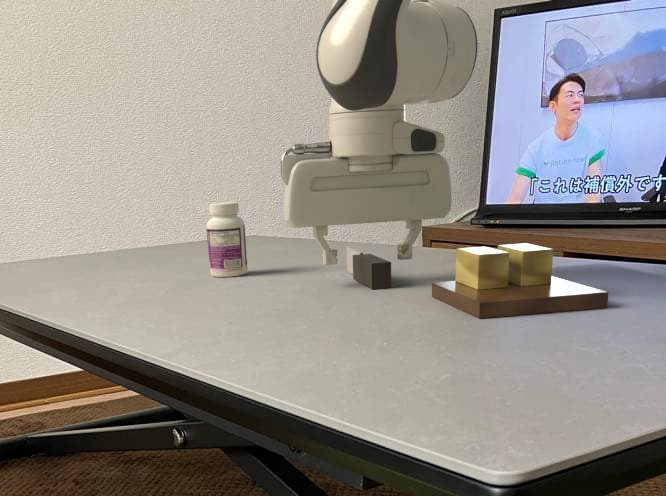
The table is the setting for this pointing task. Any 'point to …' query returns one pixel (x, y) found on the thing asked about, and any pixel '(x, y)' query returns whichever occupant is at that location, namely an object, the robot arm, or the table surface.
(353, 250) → the charcoal gray box
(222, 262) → the pill bottle
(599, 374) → the table surface
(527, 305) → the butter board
